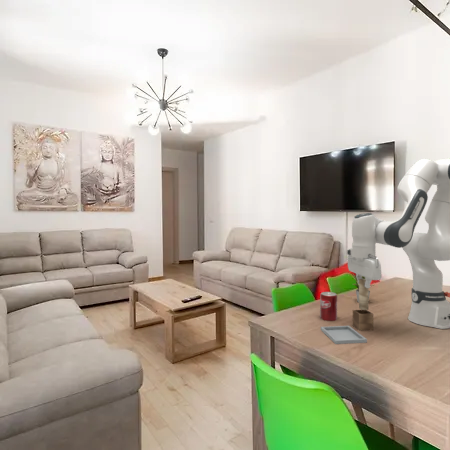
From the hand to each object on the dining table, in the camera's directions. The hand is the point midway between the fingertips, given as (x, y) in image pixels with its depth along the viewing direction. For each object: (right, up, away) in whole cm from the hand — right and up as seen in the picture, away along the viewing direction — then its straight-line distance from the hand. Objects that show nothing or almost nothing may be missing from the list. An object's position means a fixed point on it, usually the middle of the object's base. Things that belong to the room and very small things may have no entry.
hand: (363, 286), depth 132 cm
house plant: (+17, -17, +39) cm, 45 cm away
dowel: (0, -9, 0) cm, 9 cm away
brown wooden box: (0, -18, +1) cm, 18 cm away
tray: (-11, -19, -7) cm, 23 cm away
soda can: (-10, -18, +13) cm, 24 cm away
